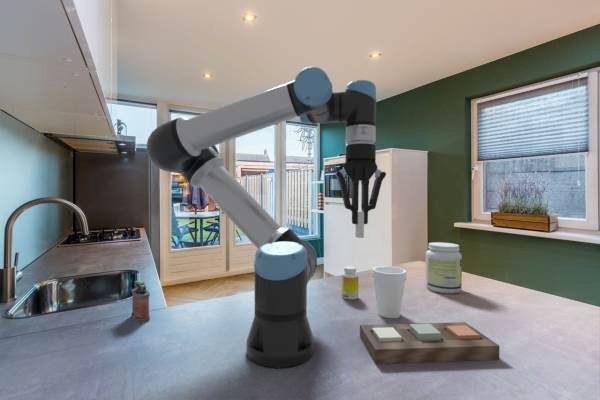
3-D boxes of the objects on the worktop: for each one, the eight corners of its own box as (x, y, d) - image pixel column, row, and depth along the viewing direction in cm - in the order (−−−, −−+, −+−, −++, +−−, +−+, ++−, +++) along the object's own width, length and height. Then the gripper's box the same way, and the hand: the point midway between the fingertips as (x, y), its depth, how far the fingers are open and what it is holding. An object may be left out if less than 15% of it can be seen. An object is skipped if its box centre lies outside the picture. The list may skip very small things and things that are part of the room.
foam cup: (407, 321, 84) (408, 274, 84) (373, 318, 86) (373, 273, 86) (403, 309, 94) (403, 267, 94) (372, 306, 96) (372, 265, 95)
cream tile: (379, 346, 67) (379, 337, 67) (372, 336, 72) (372, 327, 72) (401, 346, 67) (401, 337, 67) (392, 335, 72) (393, 327, 72)
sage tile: (419, 342, 67) (419, 333, 67) (409, 332, 72) (409, 324, 72) (440, 342, 68) (441, 333, 68) (429, 331, 73) (429, 323, 73)
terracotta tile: (458, 344, 68) (458, 335, 68) (445, 334, 73) (446, 325, 73) (479, 343, 68) (479, 334, 68) (465, 333, 73) (466, 325, 73)
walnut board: (375, 363, 63) (375, 349, 63) (359, 336, 75) (359, 324, 75) (499, 359, 65) (499, 345, 65) (464, 334, 77) (465, 322, 77)
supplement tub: (468, 294, 108) (469, 247, 108) (433, 294, 108) (434, 246, 108) (451, 284, 120) (452, 241, 120) (420, 284, 120) (420, 241, 120)
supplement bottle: (360, 299, 102) (361, 269, 102) (345, 300, 101) (345, 269, 101) (354, 294, 108) (354, 265, 108) (339, 295, 106) (339, 266, 106)
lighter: (152, 320, 84) (152, 284, 84) (139, 324, 82) (139, 286, 82) (141, 312, 90) (141, 278, 90) (128, 315, 87) (128, 280, 87)
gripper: (337, 141, 74) (336, 239, 74) (390, 142, 74) (389, 239, 75) (332, 146, 81) (332, 235, 82) (381, 147, 82) (380, 235, 82)
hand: (359, 237), depth 78 cm, fingers closed
